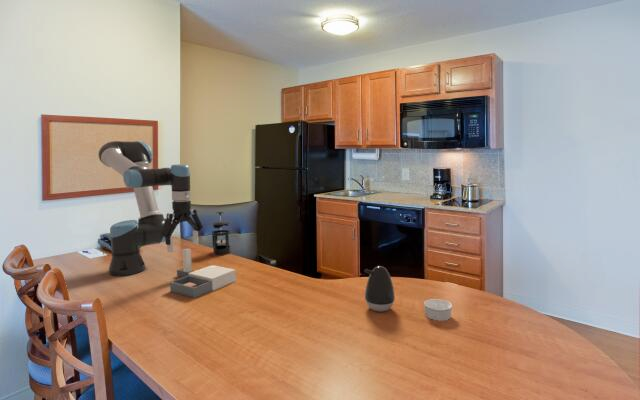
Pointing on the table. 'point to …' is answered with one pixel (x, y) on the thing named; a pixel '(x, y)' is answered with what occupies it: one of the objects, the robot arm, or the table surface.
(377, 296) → the pump dispenser
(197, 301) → the table surface
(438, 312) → the ramekin
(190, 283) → the tile
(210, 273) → the plate
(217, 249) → the french press
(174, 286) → the box
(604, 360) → the table surface
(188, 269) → the scraper
